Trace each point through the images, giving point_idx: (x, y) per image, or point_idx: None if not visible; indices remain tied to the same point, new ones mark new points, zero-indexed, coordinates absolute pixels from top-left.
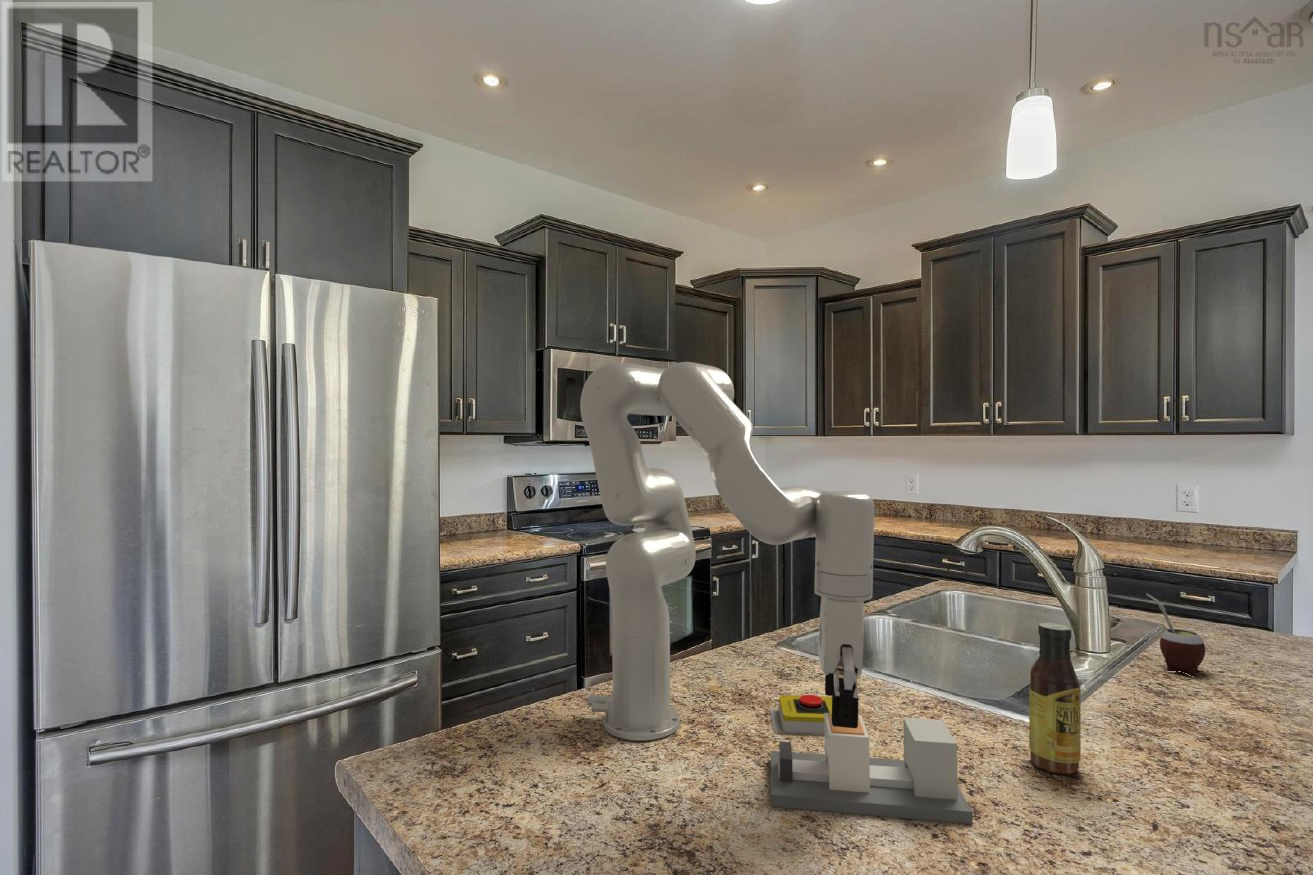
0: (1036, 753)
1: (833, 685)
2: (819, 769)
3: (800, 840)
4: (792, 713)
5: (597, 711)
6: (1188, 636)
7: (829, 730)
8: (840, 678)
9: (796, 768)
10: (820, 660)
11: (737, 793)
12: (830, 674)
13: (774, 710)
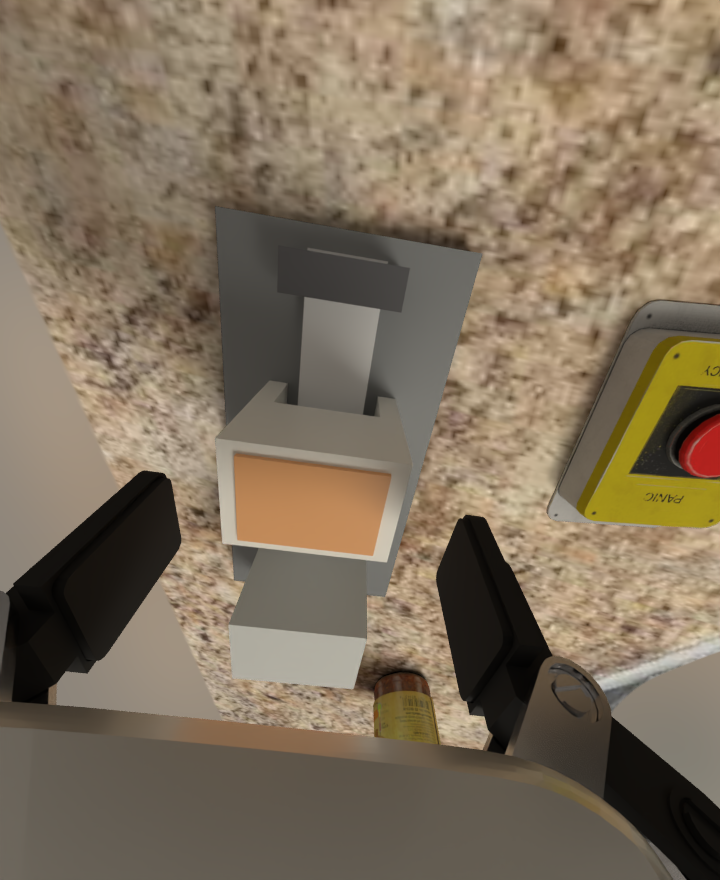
0: (397, 693)
1: (464, 575)
2: (323, 375)
3: (103, 268)
4: (681, 371)
5: None
6: None
7: (254, 448)
8: (463, 633)
9: (324, 310)
10: (148, 815)
11: (285, 96)
12: (484, 619)
13: None
